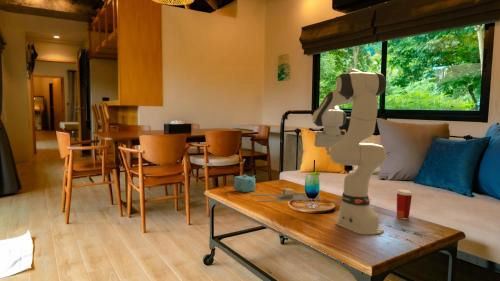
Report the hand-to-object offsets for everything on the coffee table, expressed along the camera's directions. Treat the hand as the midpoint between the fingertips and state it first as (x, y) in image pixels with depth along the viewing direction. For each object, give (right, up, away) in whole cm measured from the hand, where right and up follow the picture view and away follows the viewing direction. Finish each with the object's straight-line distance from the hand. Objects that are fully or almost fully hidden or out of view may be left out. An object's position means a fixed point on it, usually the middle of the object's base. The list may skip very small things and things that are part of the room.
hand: (329, 154), depth 199 cm
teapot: (-51, -25, +18) cm, 60 cm away
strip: (-19, -27, +6) cm, 34 cm away
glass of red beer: (+31, -32, -27) cm, 52 cm away
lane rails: (-27, -27, +3) cm, 38 cm away
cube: (-25, -26, +4) cm, 36 cm away
